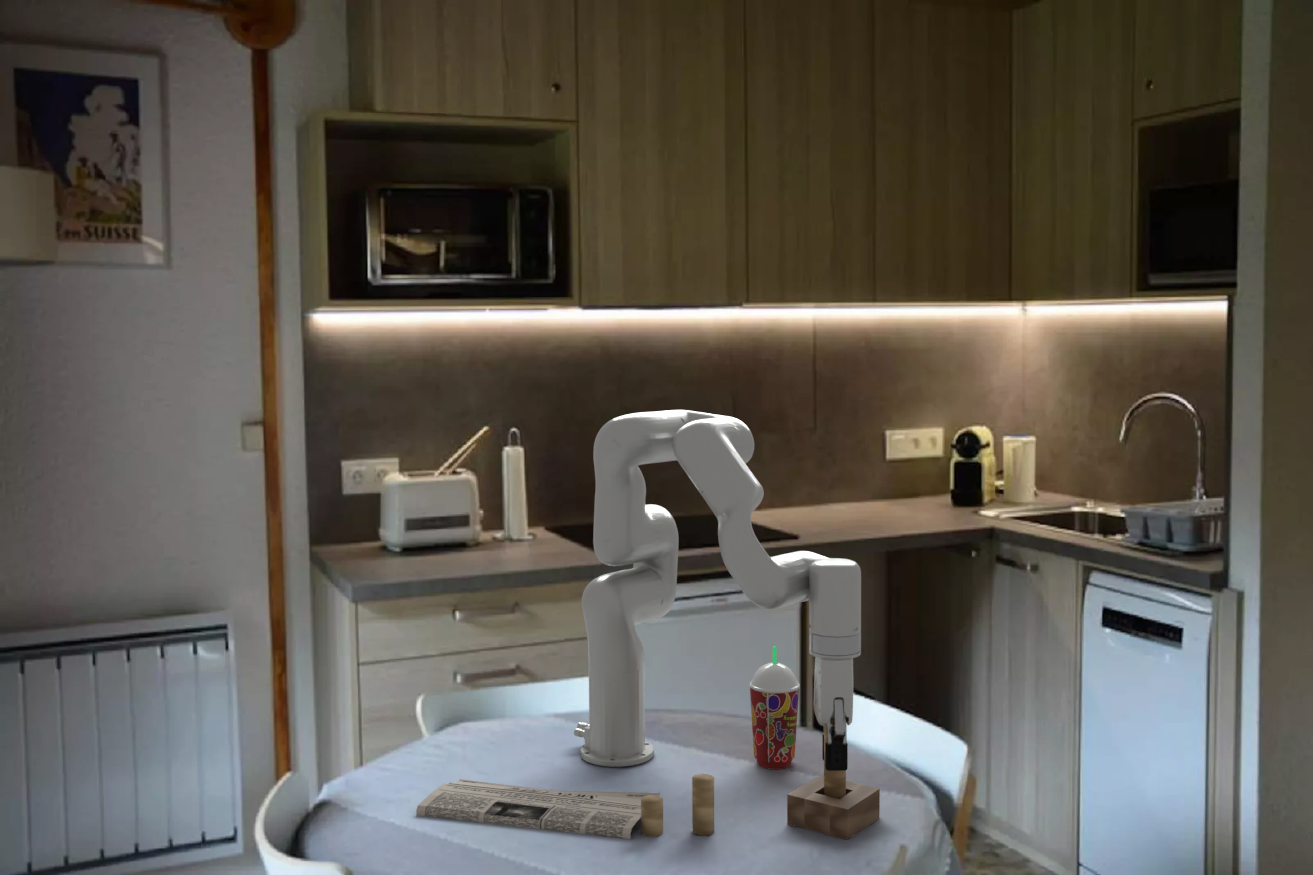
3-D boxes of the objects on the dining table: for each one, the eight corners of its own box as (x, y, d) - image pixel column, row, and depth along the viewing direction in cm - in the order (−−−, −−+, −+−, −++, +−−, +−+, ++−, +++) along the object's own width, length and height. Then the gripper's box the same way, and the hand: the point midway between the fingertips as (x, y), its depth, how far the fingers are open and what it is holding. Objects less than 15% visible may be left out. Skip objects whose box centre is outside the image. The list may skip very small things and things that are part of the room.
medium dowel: (688, 832, 189) (687, 778, 189) (700, 825, 192) (699, 772, 191) (706, 837, 188) (706, 783, 187) (718, 830, 190) (718, 776, 190)
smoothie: (796, 774, 213) (797, 654, 211) (746, 770, 215) (746, 652, 213) (801, 757, 221) (802, 641, 219) (752, 754, 223) (752, 639, 221)
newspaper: (416, 818, 197) (415, 796, 196) (451, 789, 209) (451, 768, 208) (639, 843, 187) (639, 819, 186) (663, 811, 199) (663, 789, 198)
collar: (787, 824, 192) (787, 794, 192) (820, 803, 200) (820, 775, 200) (847, 839, 186) (847, 809, 186) (879, 818, 194) (879, 788, 194)
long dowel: (820, 799, 193) (819, 707, 191) (830, 793, 195) (830, 701, 194) (839, 804, 191) (839, 710, 189) (849, 797, 193) (849, 705, 192)
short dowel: (636, 832, 189) (636, 799, 189) (650, 826, 192) (650, 793, 191) (653, 838, 187) (653, 805, 187) (667, 831, 190) (667, 798, 189)
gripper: (804, 630, 199) (804, 747, 201) (814, 658, 183) (814, 785, 184) (853, 630, 199) (853, 747, 201) (868, 658, 182) (867, 785, 184)
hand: (834, 764), depth 192 cm, fingers closed on long dowel, 3 cm apart
